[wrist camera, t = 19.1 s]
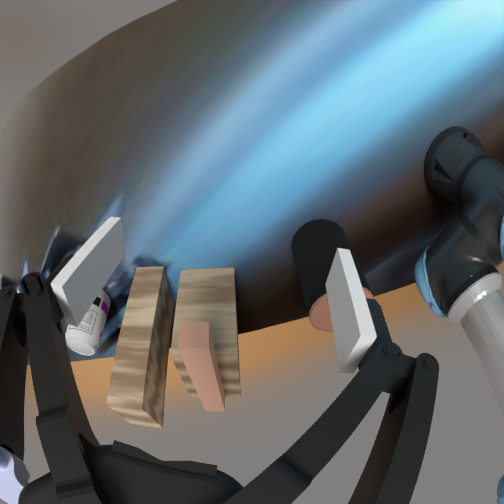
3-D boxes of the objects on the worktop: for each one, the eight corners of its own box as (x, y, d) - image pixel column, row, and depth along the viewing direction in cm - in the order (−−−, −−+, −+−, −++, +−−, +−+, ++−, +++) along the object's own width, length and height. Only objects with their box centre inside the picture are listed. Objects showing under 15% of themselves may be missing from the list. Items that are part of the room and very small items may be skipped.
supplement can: (117, 299, 64) (104, 352, 53) (99, 309, 66) (85, 359, 55) (93, 279, 59) (74, 333, 48) (75, 291, 62) (57, 341, 50)
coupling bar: (180, 322, 38) (177, 347, 35) (209, 321, 38) (208, 347, 35) (205, 394, 56) (205, 411, 53) (224, 394, 56) (225, 411, 54)
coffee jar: (307, 266, 61) (327, 339, 47) (279, 236, 55) (296, 313, 41) (351, 241, 57) (382, 311, 44) (327, 206, 51) (361, 278, 38)
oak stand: (136, 267, 58) (106, 404, 35) (233, 263, 59) (240, 410, 36) (158, 324, 72) (147, 435, 49) (237, 323, 73) (243, 438, 50)
